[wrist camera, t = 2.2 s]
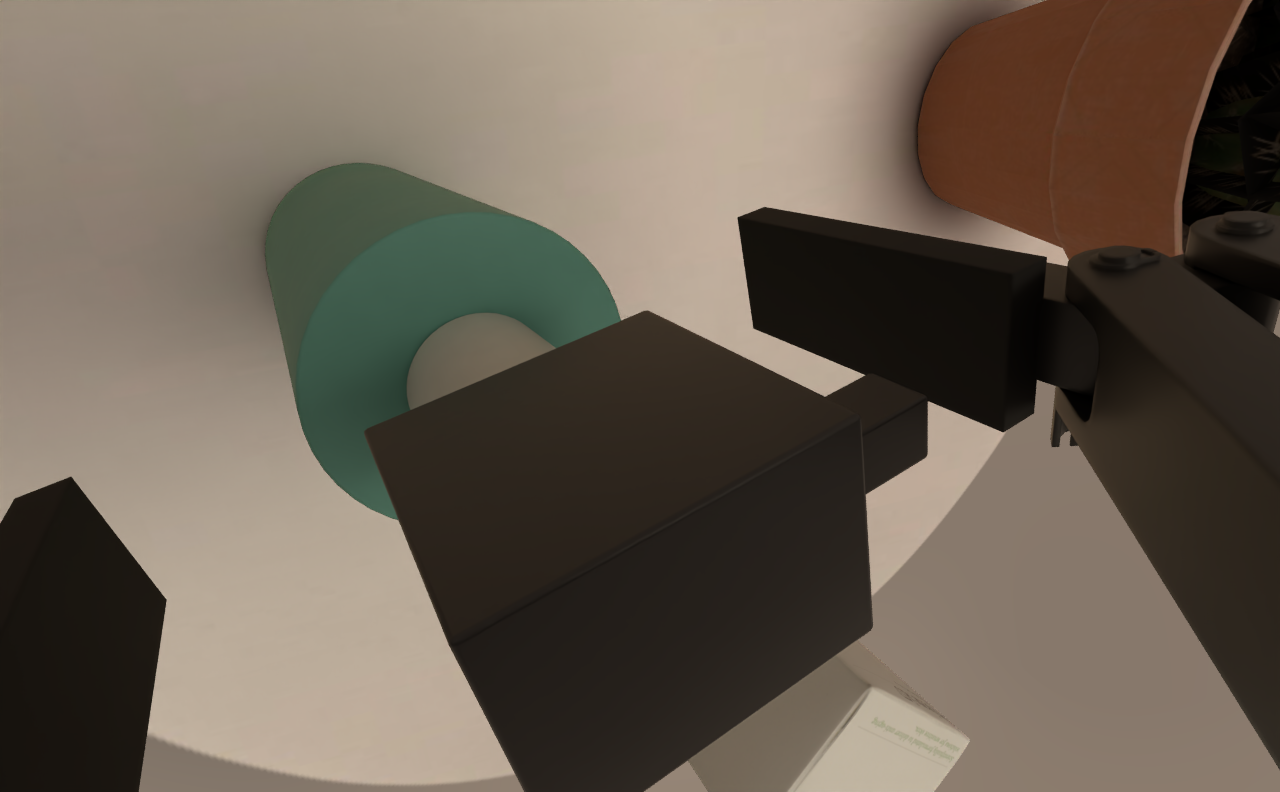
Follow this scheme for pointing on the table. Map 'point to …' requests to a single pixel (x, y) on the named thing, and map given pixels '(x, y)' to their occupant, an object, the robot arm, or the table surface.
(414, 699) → the table surface
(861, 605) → the spray bottle
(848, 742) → the cosmetic box
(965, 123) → the potted plant
